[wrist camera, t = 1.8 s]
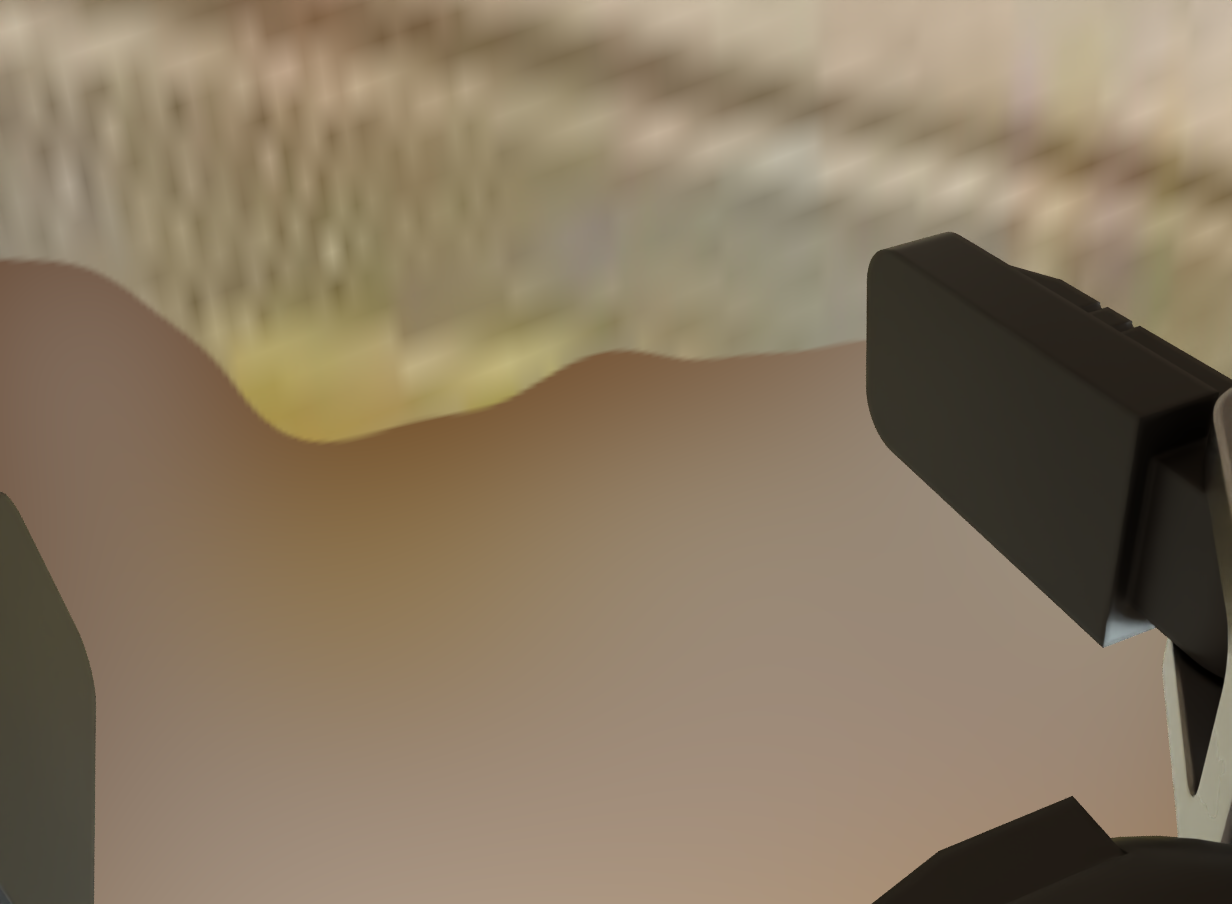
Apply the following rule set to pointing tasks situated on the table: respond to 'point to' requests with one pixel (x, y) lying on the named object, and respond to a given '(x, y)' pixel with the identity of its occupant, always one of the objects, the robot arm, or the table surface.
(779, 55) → the table surface
